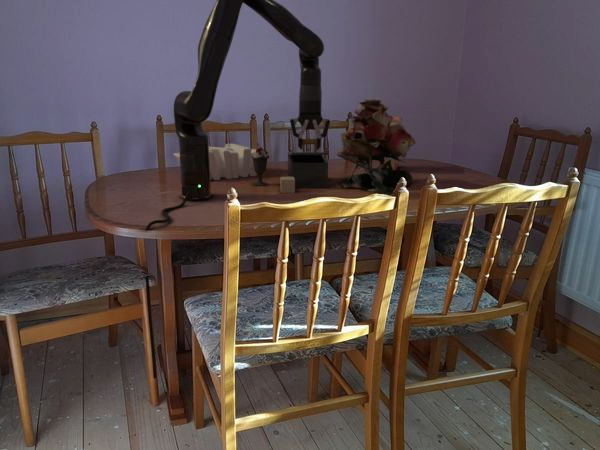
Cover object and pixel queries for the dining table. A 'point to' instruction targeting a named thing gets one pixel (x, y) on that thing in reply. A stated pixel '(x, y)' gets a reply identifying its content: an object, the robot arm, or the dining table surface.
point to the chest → (308, 171)
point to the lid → (309, 141)
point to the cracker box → (394, 162)
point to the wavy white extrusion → (229, 161)
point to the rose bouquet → (375, 148)
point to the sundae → (260, 164)
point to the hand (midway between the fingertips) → (309, 149)
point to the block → (287, 184)
